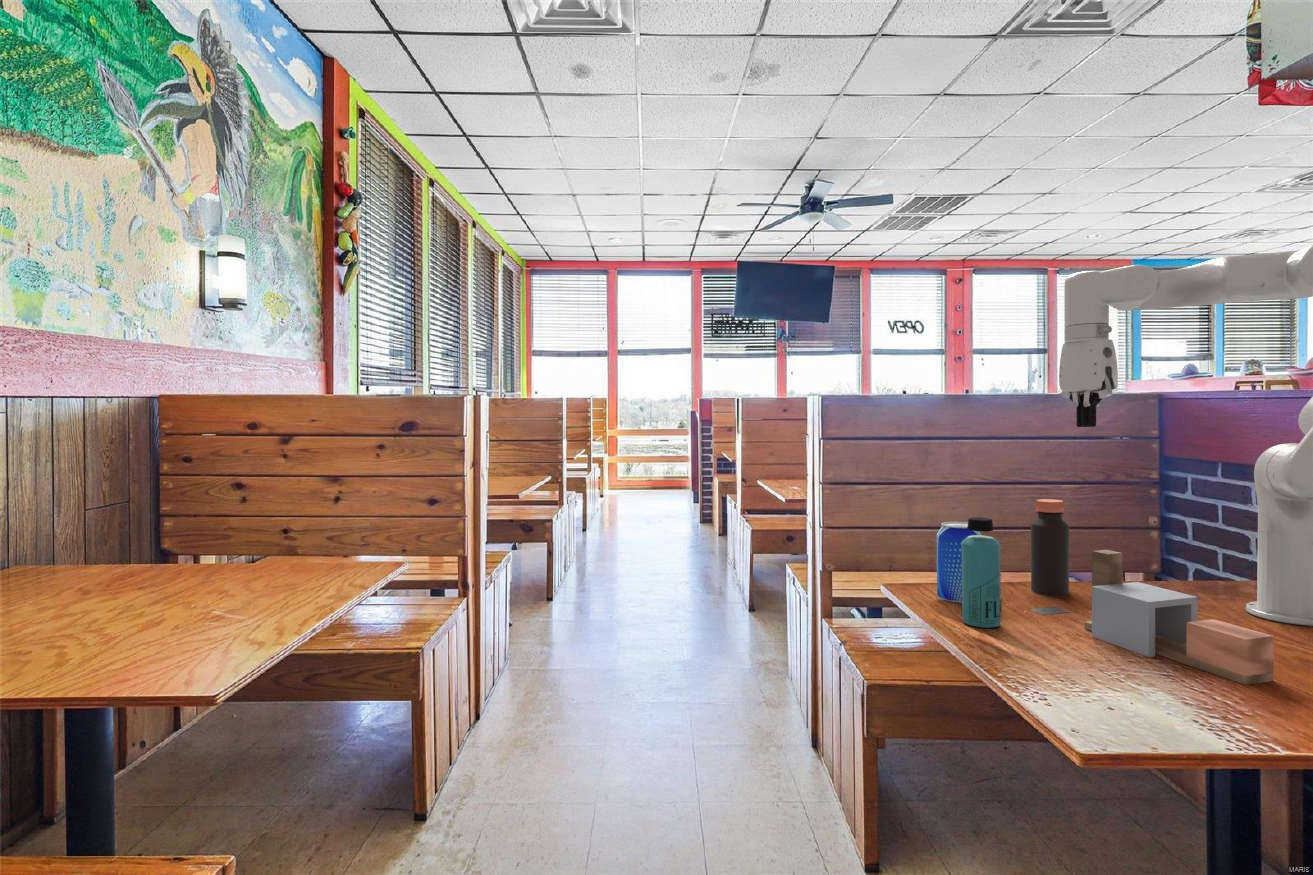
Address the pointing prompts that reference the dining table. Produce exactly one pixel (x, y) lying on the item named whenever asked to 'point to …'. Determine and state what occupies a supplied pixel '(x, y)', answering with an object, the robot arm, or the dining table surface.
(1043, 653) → the dining table surface
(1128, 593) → the tunnel
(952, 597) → the beer can
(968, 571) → the beverage bottle
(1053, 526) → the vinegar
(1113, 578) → the sled
